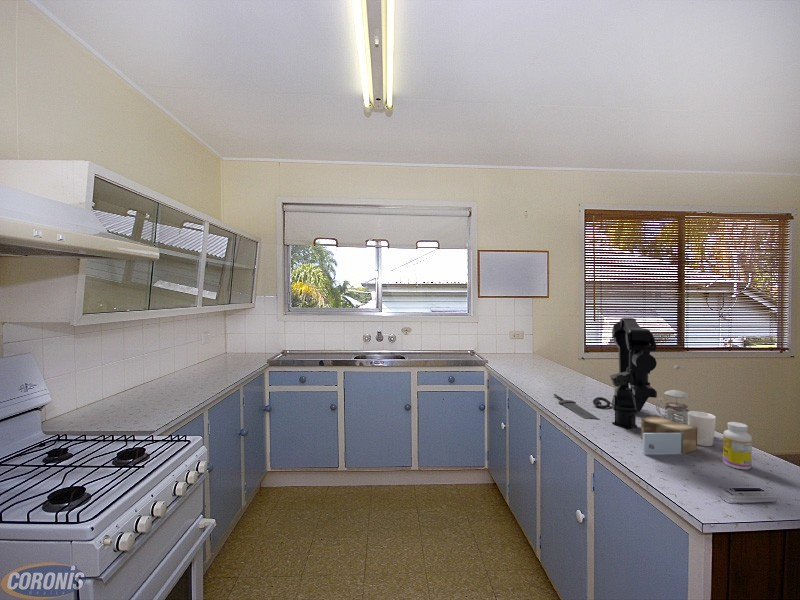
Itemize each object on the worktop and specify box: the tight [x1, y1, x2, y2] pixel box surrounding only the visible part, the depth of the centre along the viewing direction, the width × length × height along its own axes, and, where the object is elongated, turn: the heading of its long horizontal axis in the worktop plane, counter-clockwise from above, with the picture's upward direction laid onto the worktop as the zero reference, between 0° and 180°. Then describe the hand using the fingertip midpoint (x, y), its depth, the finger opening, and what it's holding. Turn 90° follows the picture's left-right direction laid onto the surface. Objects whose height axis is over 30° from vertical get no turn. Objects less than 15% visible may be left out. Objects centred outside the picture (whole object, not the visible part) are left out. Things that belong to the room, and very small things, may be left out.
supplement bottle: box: [722, 421, 753, 470], centre depth 119 cm, size 7×7×13 cm
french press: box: [655, 365, 691, 425], centre depth 149 cm, size 10×12×25 cm
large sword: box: [553, 393, 601, 421], centre depth 178 cm, size 7×35×2 cm, turn 4°
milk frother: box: [592, 385, 637, 414], centre depth 175 cm, size 14×16×15 cm
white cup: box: [688, 410, 716, 447], centre depth 137 cm, size 8×8×10 cm
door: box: [641, 432, 684, 455], centre depth 126 cm, size 13×2×7 cm, turn 90°
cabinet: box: [640, 415, 698, 455], centre depth 135 cm, size 14×8×8 cm, turn 25°
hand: (638, 411), depth 133 cm, fingers closed
